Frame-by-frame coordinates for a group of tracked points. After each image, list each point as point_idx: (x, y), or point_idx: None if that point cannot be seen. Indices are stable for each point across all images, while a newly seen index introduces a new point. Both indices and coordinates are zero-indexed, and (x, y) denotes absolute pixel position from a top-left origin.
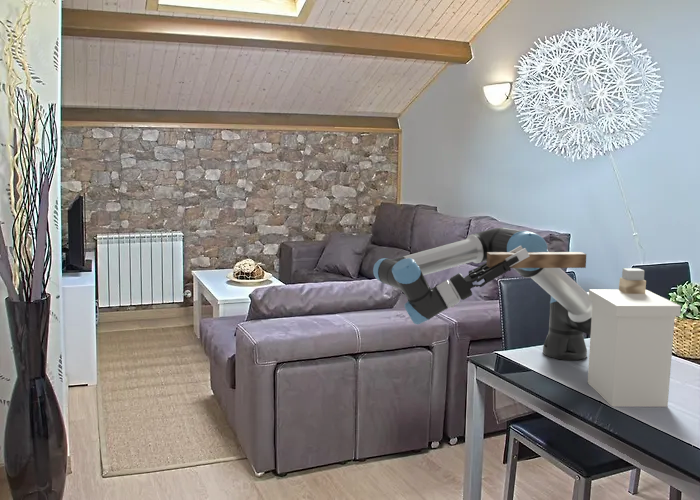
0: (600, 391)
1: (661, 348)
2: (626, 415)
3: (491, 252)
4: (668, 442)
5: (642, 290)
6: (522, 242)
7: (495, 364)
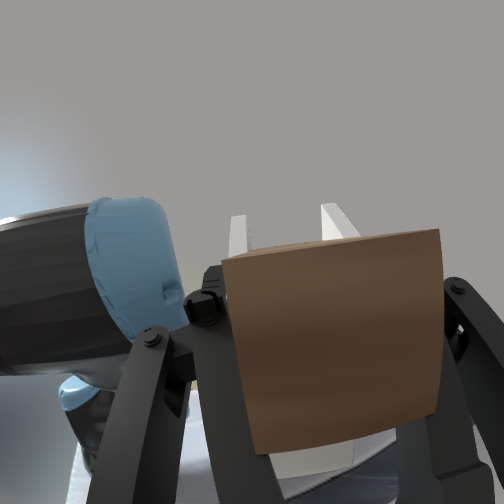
0: (304, 472)
1: None
2: (380, 453)
3: (258, 253)
4: None
5: None
6: (165, 225)
7: None
